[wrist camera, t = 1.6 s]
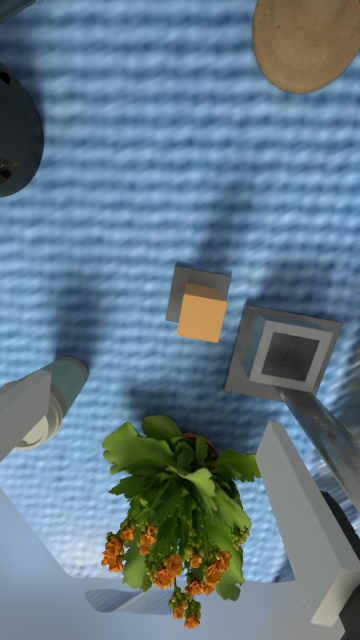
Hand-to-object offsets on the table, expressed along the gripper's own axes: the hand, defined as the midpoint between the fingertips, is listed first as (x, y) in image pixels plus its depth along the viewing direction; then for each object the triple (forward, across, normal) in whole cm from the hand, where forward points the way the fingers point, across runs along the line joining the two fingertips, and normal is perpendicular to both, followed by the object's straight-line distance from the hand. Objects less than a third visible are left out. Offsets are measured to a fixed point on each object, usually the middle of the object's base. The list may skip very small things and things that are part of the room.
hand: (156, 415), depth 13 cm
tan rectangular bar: (+21, +2, +4) cm, 21 cm away
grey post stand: (+21, +19, -2) cm, 29 cm away
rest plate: (+21, +2, +4) cm, 22 cm away
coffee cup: (+22, -15, -12) cm, 29 cm away
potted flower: (+22, +8, -24) cm, 33 cm away
